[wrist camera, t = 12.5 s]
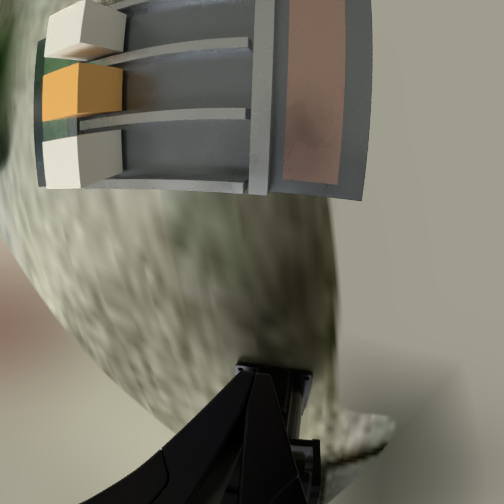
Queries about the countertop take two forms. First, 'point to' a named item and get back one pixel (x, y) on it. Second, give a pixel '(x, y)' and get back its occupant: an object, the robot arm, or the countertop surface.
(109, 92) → the block
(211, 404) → the robot arm
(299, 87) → the panel
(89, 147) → the block
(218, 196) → the countertop surface
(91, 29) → the block
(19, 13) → the countertop surface
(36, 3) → the countertop surface
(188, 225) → the countertop surface
